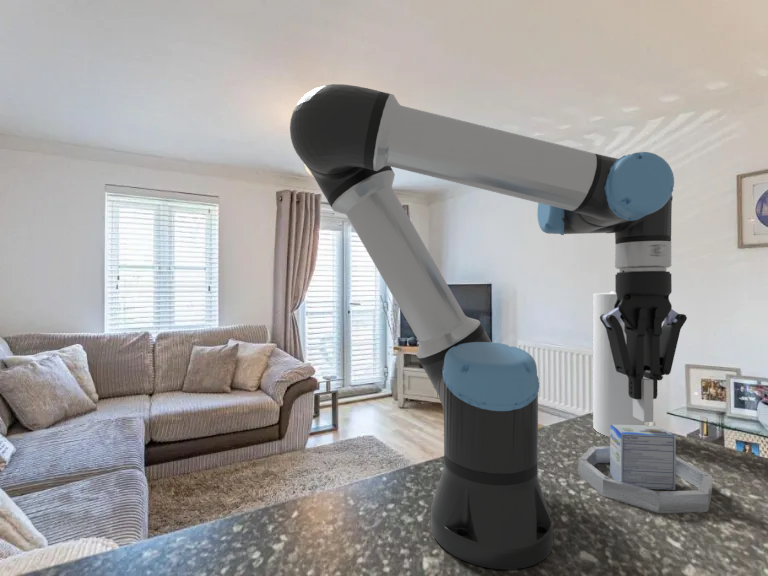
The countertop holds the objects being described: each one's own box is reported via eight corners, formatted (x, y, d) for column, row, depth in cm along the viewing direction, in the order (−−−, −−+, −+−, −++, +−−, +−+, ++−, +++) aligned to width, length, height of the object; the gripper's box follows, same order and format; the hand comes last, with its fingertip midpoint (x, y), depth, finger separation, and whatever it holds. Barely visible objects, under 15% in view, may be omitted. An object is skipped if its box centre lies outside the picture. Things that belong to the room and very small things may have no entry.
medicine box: (660, 478, 67) (661, 425, 67) (676, 491, 63) (676, 435, 63) (609, 475, 68) (609, 423, 68) (621, 488, 64) (621, 433, 64)
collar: (623, 514, 57) (624, 496, 57) (563, 461, 74) (563, 447, 74) (742, 510, 58) (742, 492, 58) (655, 458, 75) (655, 445, 75)
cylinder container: (604, 421, 95) (604, 290, 94) (650, 432, 88) (651, 291, 87) (585, 430, 89) (585, 291, 88) (633, 443, 82) (633, 292, 81)
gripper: (617, 269, 61) (617, 428, 61) (701, 269, 62) (701, 426, 62) (589, 271, 69) (589, 412, 69) (665, 270, 69) (665, 410, 70)
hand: (642, 418), depth 66 cm, fingers closed
